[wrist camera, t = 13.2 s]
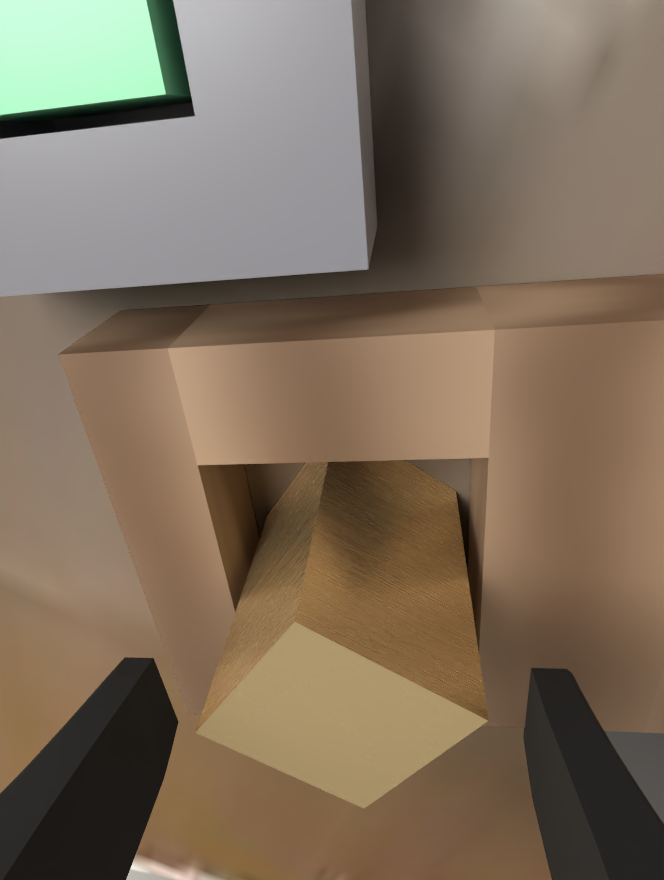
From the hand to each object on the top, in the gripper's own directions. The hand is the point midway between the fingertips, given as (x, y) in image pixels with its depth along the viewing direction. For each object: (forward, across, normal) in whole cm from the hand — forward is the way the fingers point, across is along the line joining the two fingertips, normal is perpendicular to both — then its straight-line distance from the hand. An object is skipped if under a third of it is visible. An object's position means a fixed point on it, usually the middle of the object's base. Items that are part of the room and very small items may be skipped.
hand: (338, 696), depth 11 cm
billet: (+6, 0, 0) cm, 7 cm away
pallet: (+6, -5, 0) cm, 8 cm away
